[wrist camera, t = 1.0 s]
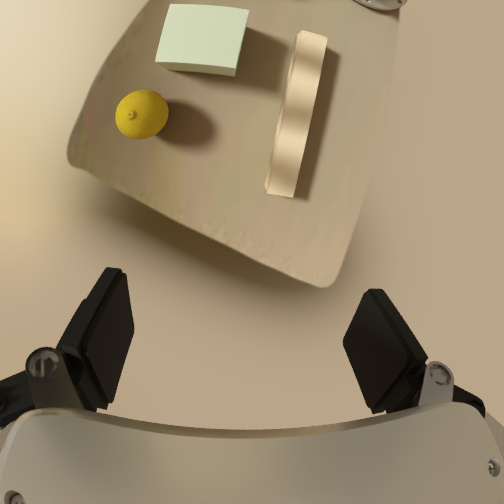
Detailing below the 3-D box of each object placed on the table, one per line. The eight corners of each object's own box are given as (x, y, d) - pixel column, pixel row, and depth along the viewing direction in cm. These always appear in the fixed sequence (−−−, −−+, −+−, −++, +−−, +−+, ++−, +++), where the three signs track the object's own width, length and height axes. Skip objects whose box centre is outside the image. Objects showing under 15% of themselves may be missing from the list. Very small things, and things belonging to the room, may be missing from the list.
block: (180, 20, 22) (170, 4, 17) (246, 27, 24) (249, 10, 18) (168, 70, 26) (155, 61, 20) (234, 76, 27) (235, 68, 22)
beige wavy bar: (295, 36, 24) (301, 29, 22) (319, 43, 25) (327, 37, 22) (264, 186, 33) (267, 193, 31) (287, 190, 34) (292, 197, 31)
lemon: (183, 104, 28) (168, 100, 21) (160, 143, 30) (139, 152, 23) (145, 85, 26) (120, 78, 19) (124, 124, 28) (95, 129, 21)
